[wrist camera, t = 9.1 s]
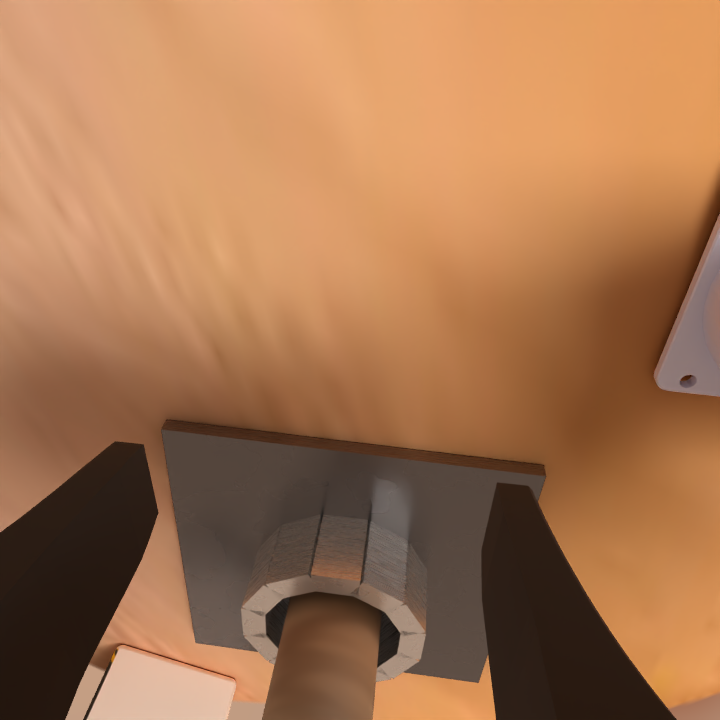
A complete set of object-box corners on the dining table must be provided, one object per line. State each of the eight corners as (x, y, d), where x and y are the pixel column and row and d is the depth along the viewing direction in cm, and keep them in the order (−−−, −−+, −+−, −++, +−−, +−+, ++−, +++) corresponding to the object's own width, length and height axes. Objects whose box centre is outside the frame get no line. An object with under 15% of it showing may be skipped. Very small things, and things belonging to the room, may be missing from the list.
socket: (543, 465, 24) (558, 539, 21) (477, 671, 32) (481, 744, 29) (166, 419, 25) (129, 485, 22) (199, 632, 33) (175, 700, 30)
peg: (371, 538, 26) (351, 703, 21) (394, 595, 28) (383, 760, 23) (285, 547, 27) (243, 708, 22) (314, 602, 29) (283, 762, 24)
